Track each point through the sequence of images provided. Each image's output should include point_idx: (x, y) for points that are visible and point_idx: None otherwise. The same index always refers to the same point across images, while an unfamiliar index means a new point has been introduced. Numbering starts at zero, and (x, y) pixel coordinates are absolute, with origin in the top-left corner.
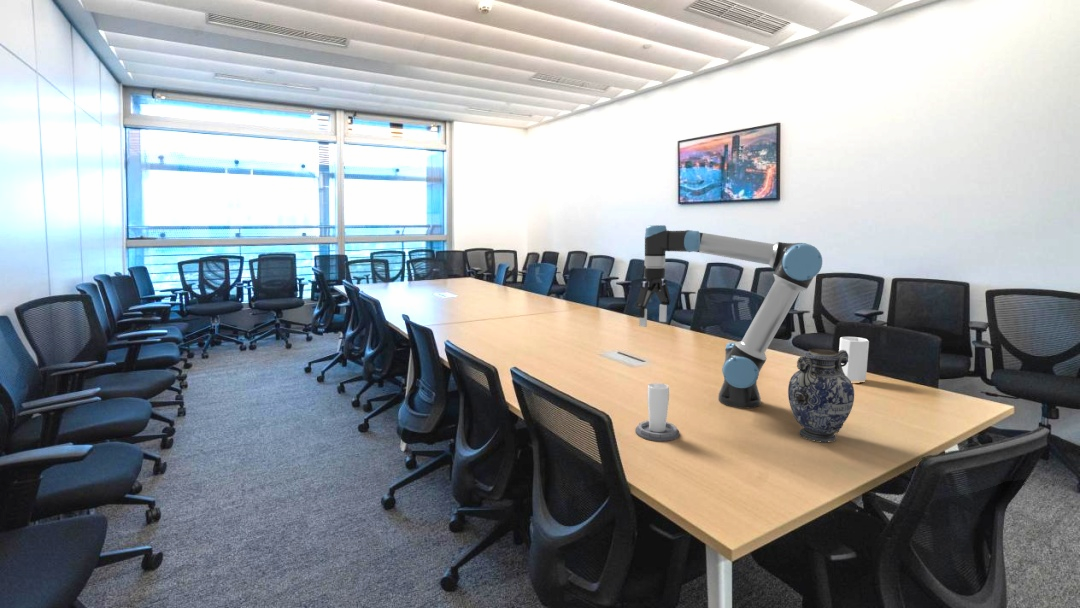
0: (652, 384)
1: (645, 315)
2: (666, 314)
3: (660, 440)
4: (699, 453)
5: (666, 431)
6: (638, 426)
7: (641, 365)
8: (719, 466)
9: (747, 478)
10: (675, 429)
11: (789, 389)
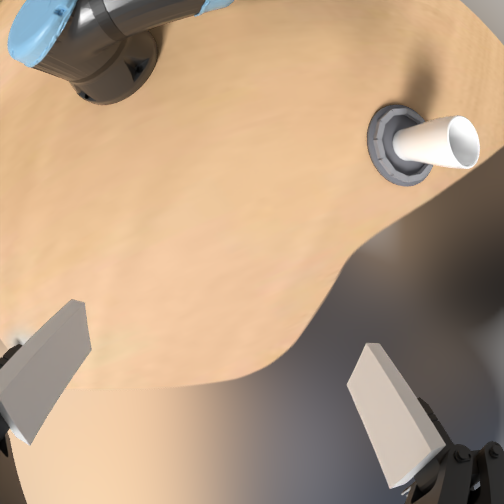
0: (456, 160)
1: (417, 405)
2: (38, 331)
3: None
4: (429, 71)
5: (400, 127)
6: (421, 178)
7: None
8: (443, 49)
9: (445, 25)
10: (401, 110)
11: None
